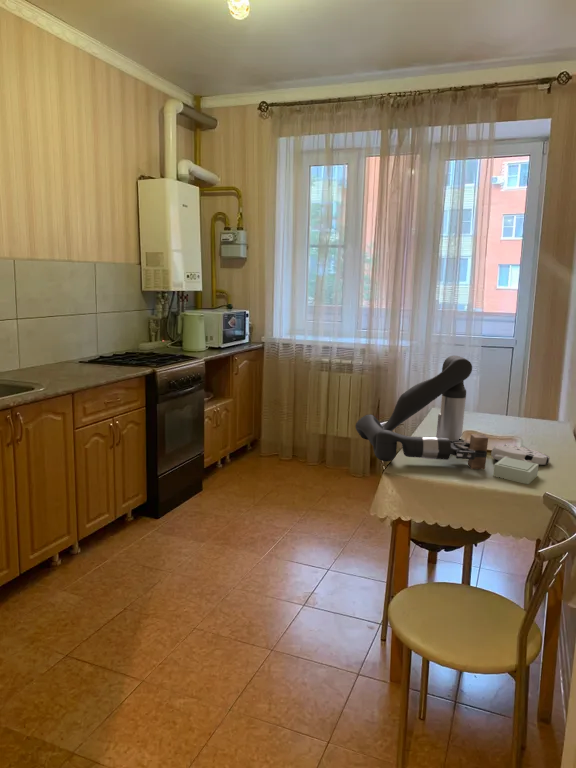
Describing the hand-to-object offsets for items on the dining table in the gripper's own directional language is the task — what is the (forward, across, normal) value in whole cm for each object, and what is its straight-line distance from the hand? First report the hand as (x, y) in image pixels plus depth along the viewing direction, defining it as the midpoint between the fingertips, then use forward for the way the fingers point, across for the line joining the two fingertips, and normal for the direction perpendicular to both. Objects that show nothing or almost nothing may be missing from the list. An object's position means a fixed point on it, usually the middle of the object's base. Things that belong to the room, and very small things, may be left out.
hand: (482, 450), depth 194 cm
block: (-2, 0, -6) cm, 6 cm away
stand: (+9, +7, -6) cm, 13 cm away
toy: (+16, -10, -6) cm, 20 cm away
